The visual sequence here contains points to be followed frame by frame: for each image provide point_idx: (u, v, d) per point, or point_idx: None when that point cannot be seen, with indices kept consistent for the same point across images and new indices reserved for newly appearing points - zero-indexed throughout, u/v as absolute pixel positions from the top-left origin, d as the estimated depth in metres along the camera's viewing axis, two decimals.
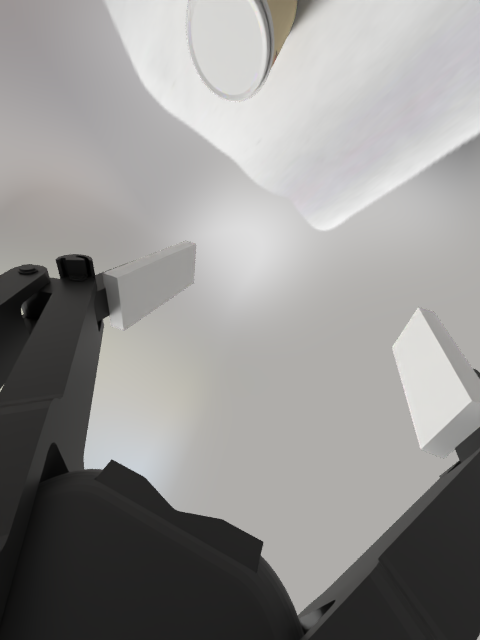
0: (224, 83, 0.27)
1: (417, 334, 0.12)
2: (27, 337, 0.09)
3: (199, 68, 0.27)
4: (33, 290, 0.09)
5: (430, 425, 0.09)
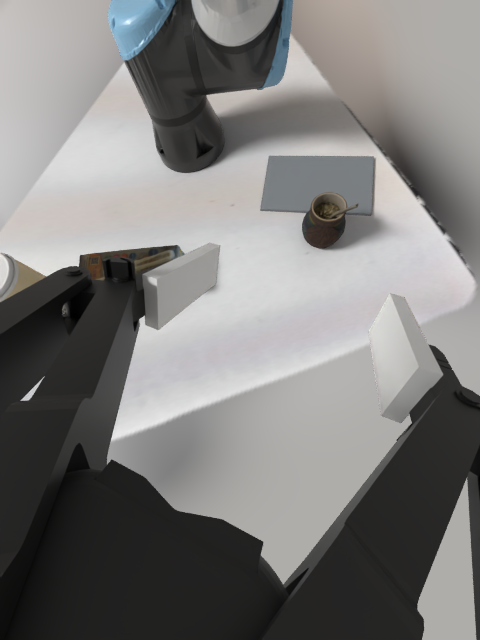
0: None
1: (387, 317, 0.13)
2: (65, 336, 0.09)
3: None
4: (75, 291, 0.10)
5: (389, 393, 0.10)
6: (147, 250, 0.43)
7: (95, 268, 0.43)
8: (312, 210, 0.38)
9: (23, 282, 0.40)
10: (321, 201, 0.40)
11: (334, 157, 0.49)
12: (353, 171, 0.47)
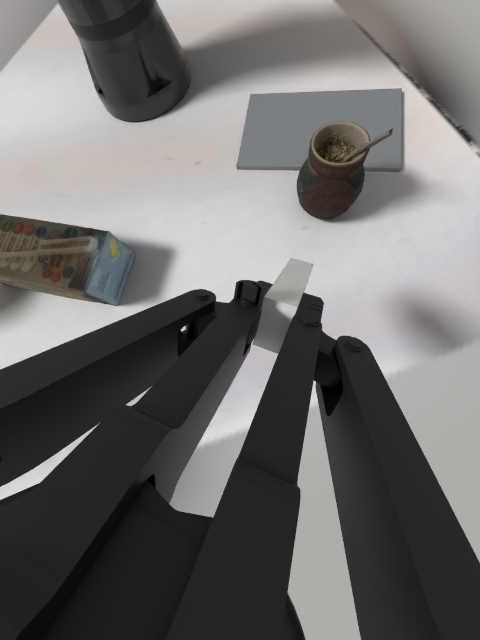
0: None
1: None
2: (174, 357, 0.09)
3: None
4: (196, 316, 0.09)
5: None
6: (64, 228, 0.28)
7: None
8: (312, 149, 0.23)
9: None
10: (327, 139, 0.25)
11: (344, 92, 0.34)
12: (371, 109, 0.32)
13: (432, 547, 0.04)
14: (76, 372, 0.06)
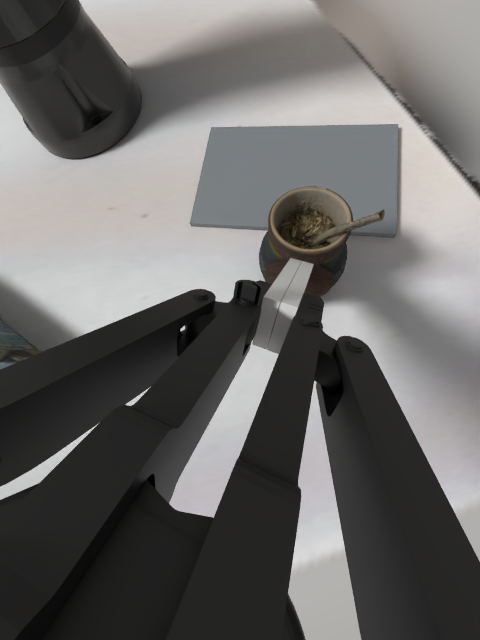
0: None
1: None
2: (174, 356, 0.09)
3: None
4: (195, 316, 0.09)
5: None
6: None
7: None
8: (271, 226, 0.16)
9: None
10: (294, 207, 0.18)
11: (325, 127, 0.27)
12: (360, 152, 0.25)
13: (433, 548, 0.04)
14: (76, 372, 0.06)
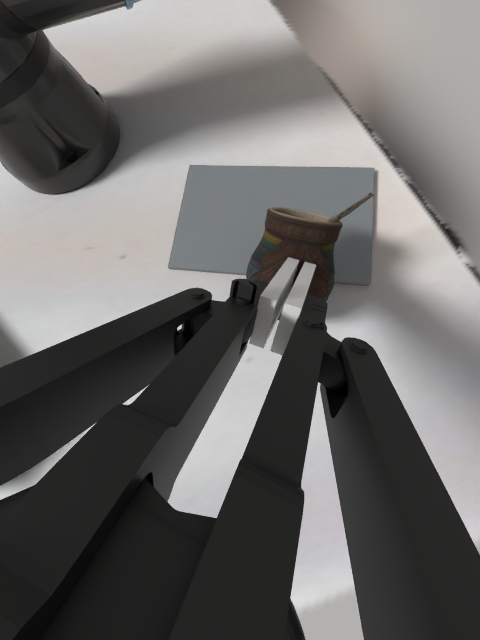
0: None
1: None
2: (171, 355, 0.09)
3: None
4: (192, 315, 0.09)
5: None
6: None
7: None
8: (272, 211, 0.17)
9: None
10: None
11: (303, 169, 0.27)
12: (336, 196, 0.26)
13: (438, 551, 0.04)
14: (73, 371, 0.06)
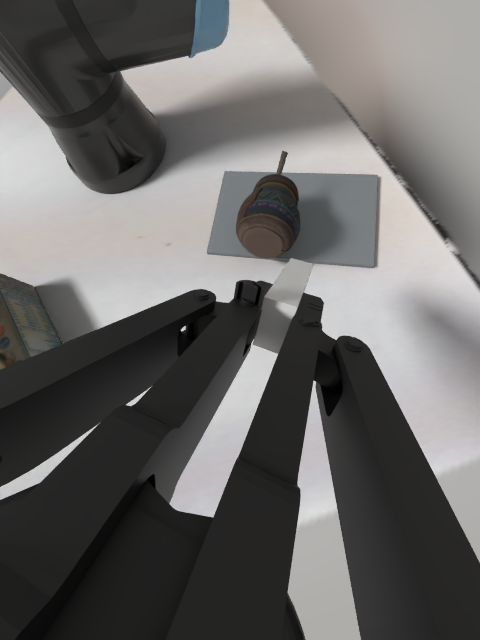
0: None
1: None
2: (174, 357, 0.09)
3: None
4: (196, 316, 0.09)
5: None
6: (20, 357, 0.26)
7: None
8: None
9: None
10: None
11: (319, 175, 0.33)
12: (346, 197, 0.31)
13: (432, 547, 0.04)
14: (76, 372, 0.06)
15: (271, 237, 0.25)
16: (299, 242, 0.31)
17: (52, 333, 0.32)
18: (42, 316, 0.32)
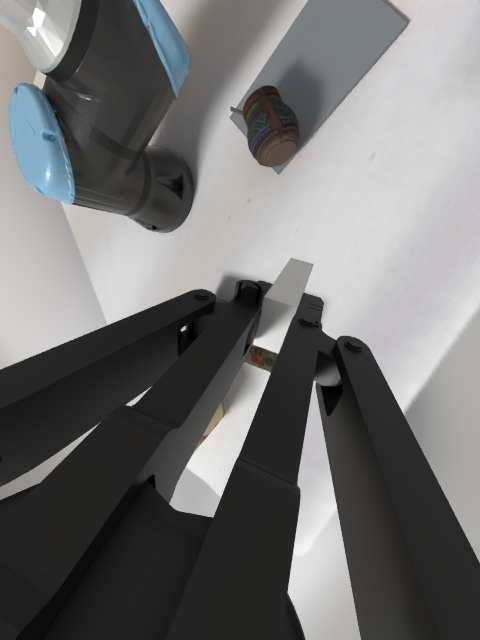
0: None
1: None
2: (174, 356, 0.09)
3: None
4: (196, 316, 0.09)
5: None
6: None
7: None
8: None
9: None
10: None
11: (292, 27, 0.34)
12: (330, 10, 0.32)
13: (432, 547, 0.04)
14: (76, 372, 0.06)
15: (271, 156, 0.34)
16: (330, 86, 0.33)
17: None
18: None
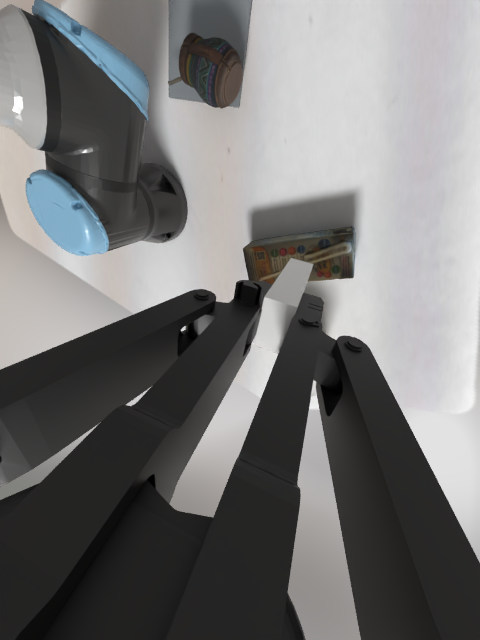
0: None
1: None
2: (174, 357, 0.09)
3: None
4: (196, 316, 0.09)
5: None
6: (317, 241, 0.40)
7: (264, 264, 0.44)
8: None
9: None
10: None
11: None
12: None
13: (432, 547, 0.04)
14: (76, 372, 0.06)
15: (228, 91, 0.35)
16: None
17: (297, 234, 0.45)
18: (281, 237, 0.46)
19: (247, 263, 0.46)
